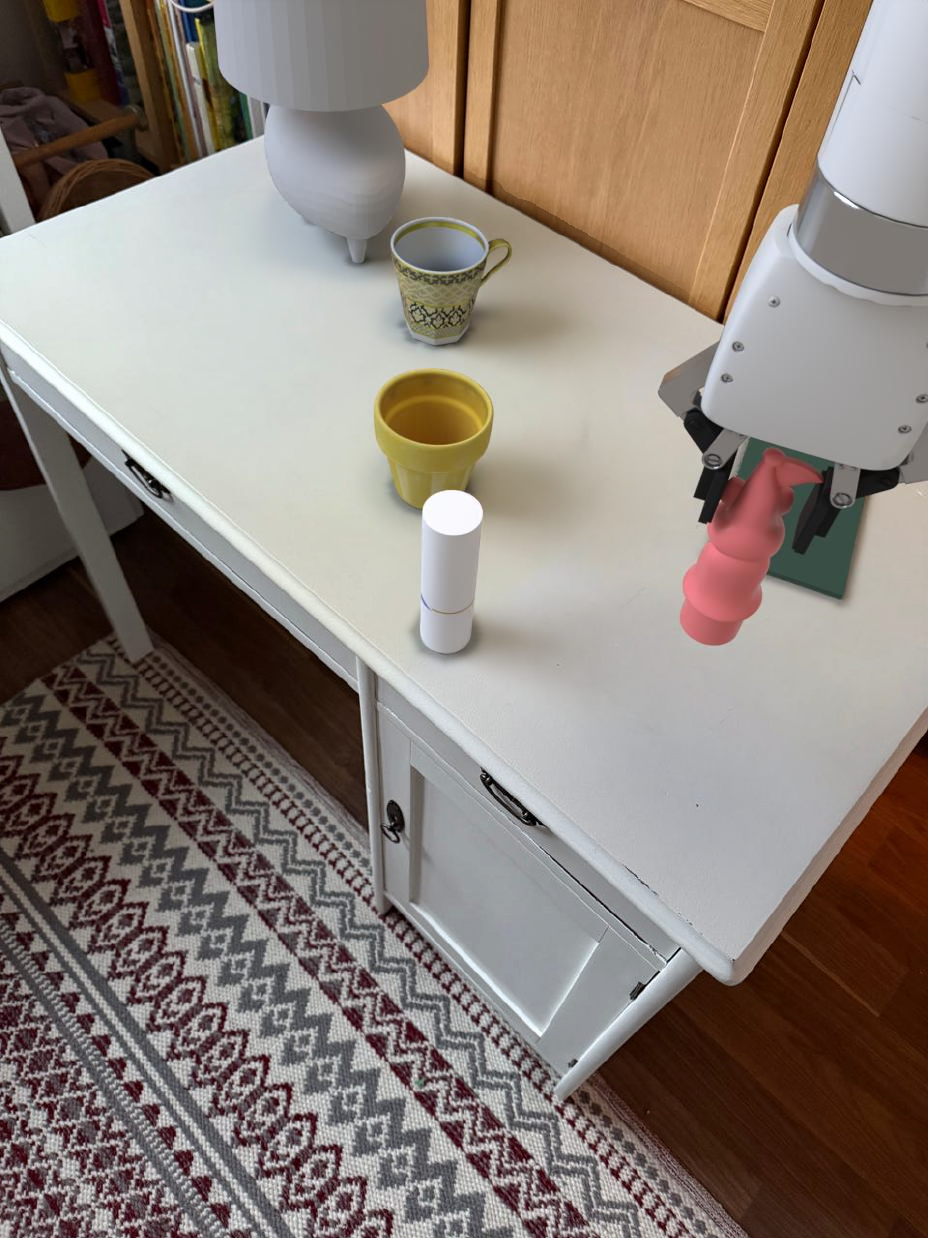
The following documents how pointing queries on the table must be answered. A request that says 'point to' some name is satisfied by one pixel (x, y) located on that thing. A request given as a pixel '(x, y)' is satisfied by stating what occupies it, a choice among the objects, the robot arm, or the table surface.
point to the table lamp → (329, 100)
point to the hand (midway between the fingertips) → (755, 519)
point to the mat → (824, 556)
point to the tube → (449, 569)
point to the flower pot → (432, 431)
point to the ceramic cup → (441, 275)
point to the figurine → (741, 548)
